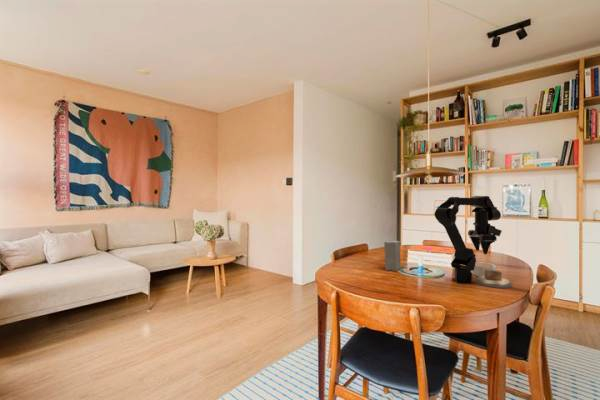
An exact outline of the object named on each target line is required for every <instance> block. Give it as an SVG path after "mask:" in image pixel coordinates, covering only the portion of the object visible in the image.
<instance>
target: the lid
mask: <svg viewBox="0 0 600 400" xmlns="http://www.w3.org/2000/svg"><path fill="white" fill-rule="evenodd" d="M502 273H503V272H502V271H501V270H498V269H497V270H485V276H477V277H476V278H477V281H479V282H481V283H484V284H488V285H495V286H507V285H510V282H511V281H510V280H509V279H507V278H505V277H502V276H503V274H502Z"/></svg>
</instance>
